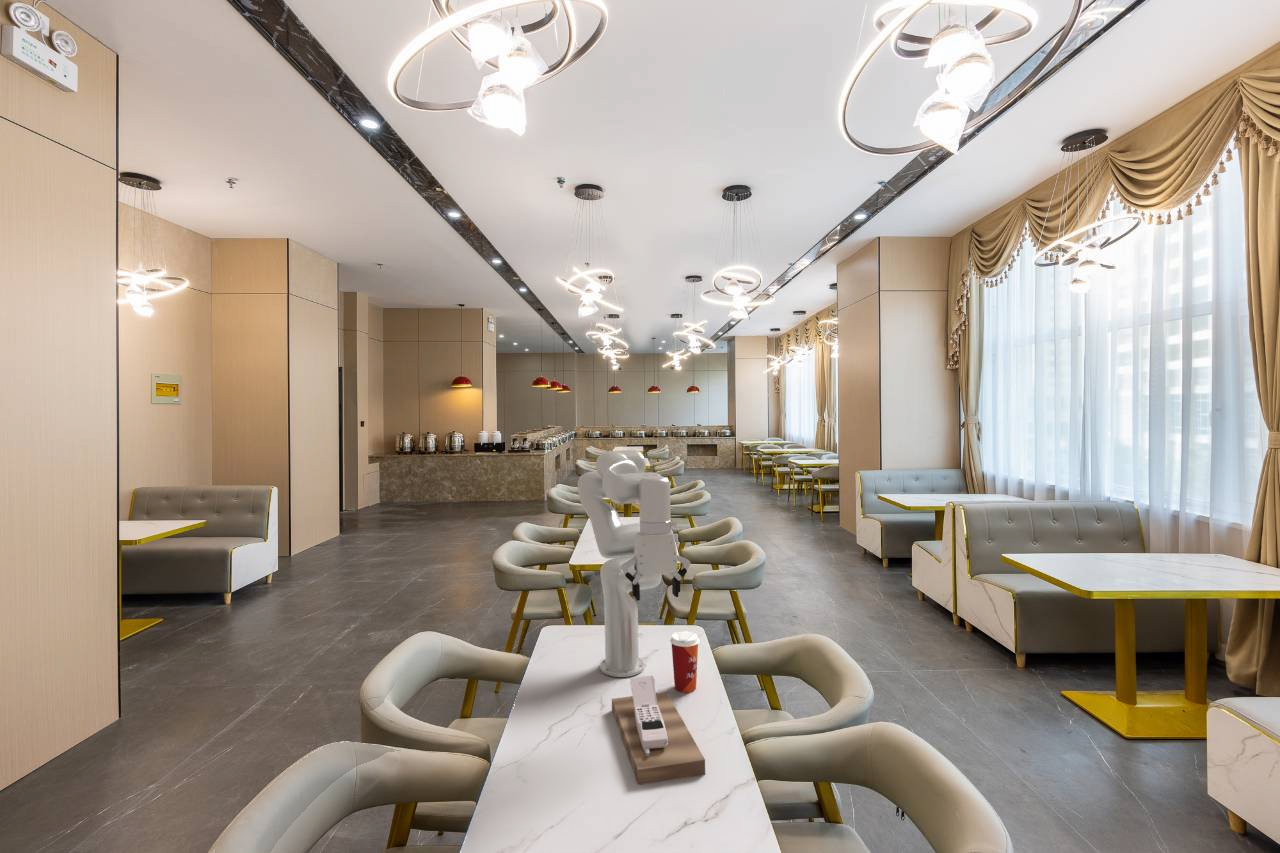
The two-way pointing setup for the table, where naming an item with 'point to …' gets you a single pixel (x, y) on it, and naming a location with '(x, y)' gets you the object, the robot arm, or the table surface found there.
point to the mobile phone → (648, 714)
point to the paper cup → (685, 660)
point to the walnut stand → (664, 761)
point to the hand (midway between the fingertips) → (656, 597)
